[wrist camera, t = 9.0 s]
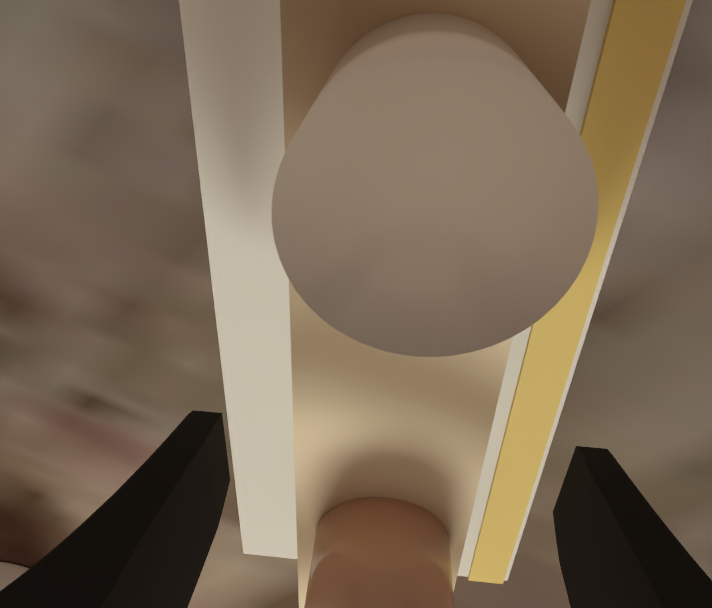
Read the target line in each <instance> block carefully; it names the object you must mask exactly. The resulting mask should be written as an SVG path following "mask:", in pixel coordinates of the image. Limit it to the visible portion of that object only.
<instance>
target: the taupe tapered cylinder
mask: <svg viewBox="0 0 712 608" xmlns="http://www.w3.org/2000/svg"><path fill="white" fill-rule="evenodd" d="M598 201H599V198H598V189H597V180H596V175H595V172H594V168H593V164H592V160H591V157H590V155H589V153H588V151H587V148H586V146H585V144H584V142H583V139H582V138H581V136H580V134H579V133H578V131H577V130H576V128H575V127H574V125H573V124H572V122H571V121H570V119H569V118H568V117H567V116H566V114H565V113H564V112H563V111H562V109H561V108H560V107H559V106H558V104H557V103H556V102H555V101H554V99H553V98H552V97H551V96H550V94H549V93H548V92H547V91H546V89H545V88H544V87H543V86H542V84H541V83H540V82H539V81H538V79H537V78H536V77H535V76H534V74H533V73H532V72H531V71H530V69H529V68H528V67H527V66H526V64H525V63H524V62H523V61H522V59H521V58H520V57H519V56H518V54H517V53H516V52H515V51H514V50H513V49H512V48H511V46H510V45H509V44H508V43H507V42H506V41H505V40H503V39H502V38H501V37H500V36H499V35H497V34H496V33H495V32H493V31H492V30H490V29H488V28H487V27H485V26H483V25H482V24H479V23H477V22H475V21H472V20H470V19H467V18H464V17H460V16H456V15H452V14H443V13H420V14H414V15H409V16H404V17H401V18H398V19H395V20H392V21H389V22H387V23H385V24H383V25H381V26H379V27H377V28H375V29H373V30H372V31H370V32H369V33H367V34H366V35H365V36H363V37H362V38H360V39H359V40H358V41H357V42H356V43H355V44H354V45H353V46H352V47H351V48H349V50H348V51H347V52H346V53H345V54H344V56H343V57H342V58H341V59H340V60H339V62H338V63H337V65H336V66H335V68H334V70H333V71H332V73H331V74H330V76H329V78H328V79H327V81H326V83H325V85H324V86H323V88H322V90H321V91H320V93H319V95H318V96H317V98H316V100H315V102H314V103H313V105H312V107H311V108H310V110H309V112H308V113H307V115H306V117H305V118H304V120H303V122H302V124H301V125H300V127H299V129H298V130H297V132H296V134H295V135H294V137H293V139H292V140H291V142H290V144H289V146H288V148H287V150H286V152H285V154H284V157H283V159H282V161H281V163H280V166H279V169H278V173H277V176H276V180H275V183H274V190H273V197H272V229H273V236H274V242H275V245H276V249H277V252H278V256H279V259H280V261H281V264H282V266H283V268H284V270H285V273H286V275H287V277H288V278H289V280H290V282H291V283H292V285H293V287H294V288H295V290H296V291H297V293H298V294H299V295H300V296H301V298H302V299H303V300H304V301H305V303H306V304H307V305H308V306H309V307H310V308H311V309H312V310H313V311H314V312H315V313H316V314H317V315H318V316H319V317H320V318H321V319H323V320H324V321H325V322H327V323H328V324H329V325H330V326H332V327H333V328H334V329H336V330H338V331H339V332H341V333H343V334H344V335H346V336H348V337H349V338H352V339H354V340H356V341H358V342H360V343H362V344H365V345H367V346H370V347H373V348H376V349H379V350H382V351H386V352H391V353H395V354H400V355H408V356H416V357H442V356H453V355H459V354H464V353H470V352H474V351H478V350H481V349H484V348H487V347H491V346H493V345H496V344H498V343H500V342H503V341H505V340H507V339H509V338H511V337H513V336H515V335H517V334H518V333H520V332H522V331H524V330H526V329H527V328H528V327H530V326H531V325H533V324H534V323H535V322H537V321H538V320H540V319H541V318H542V317H543V316H544V315H545V314H547V313H548V312H549V311H550V310H551V309H552V308H553V307H554V306H555V305H556V304H557V303H558V302H559V301H560V300H561V298H562V297H563V296H564V295H565V294H566V293H567V292H568V290H569V289H570V287H571V286H572V284H573V283H574V281H575V280H576V278H577V277H578V275H579V274H580V272H581V270H582V268H583V266H584V264H585V262H586V260H587V258H588V255H589V252H590V249H591V246H592V243H593V240H594V236H595V231H596V226H597V220H598Z"/></svg>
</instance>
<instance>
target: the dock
mask: <svg viewBox="0 0 712 608" xmlns="http://www.w3.org/2000/svg"><path fill="white" fill-rule="evenodd" d="M692 2H693V0H591V3H590V8H589V12H588V16H587V20H586V25H585V29H584V33H583V38H582V42H581V46H580V51H579V55H578V59H577V63H576V68H575V72H574V76H573V81H572V85H571V89H570V94H569V98H568V102H567V106H566V111H565V114H566V116H567V117H568V118H569V119H570V121H571V122H572V124H573V125H574V127H575V128H576V130H577V131H578V133H579V134H580V136H581V138H582V139H583V142H584V144H585V146H586V148H587V151H588V153H589V155H590V157H591V160H592V164H593V168H594V172H595V175H596V180H597V189H598V198H599V201H598V220H597V226H596V231H595V236H594V240H593V243H592V246H591V249H590V252H589V255H588V258H587V260H586V262H585V264H584V266H583V268H582V270H581V272H580V274H579V275H578V277H577V278H576V280H575V281H574V283H573V284H572V286H571V287H570V289H569V290H568V292H567V293H566V294H565V295H564V296H563V297H562V298H561V300H560V301H559V302H558V303H557V304H556V305H555V306H554V307H553V308H552V309H551V310H550V311H549V312H548V313H547V314H545V315H544V316H543V317H542V318H541V319H540V320H538V321H537V322H535V323H534V324H533V325H531V326H530V327H528V328H527V329H526V330H524V331H522V332H520V333H518V334H517V335H515V336H513V338H512V343H511V347H510V351H509V356H508V360H507V364H506V368H505V373H504V377H503V381H502V386H501V390H500V394H499V398H498V403H497V407H496V411H495V416H494V420H493V424H492V429H491V433H490V437H489V441H488V446H487V450H486V454H485V459H484V463H483V467H482V471H481V476H480V480H479V484H478V489H477V493H476V497H475V502H474V506H473V510H472V514H471V519H470V523H469V527H468V532H467V536H466V540H465V545H464V549H463V553H462V557H461V562H460V566H459V570H458V575H457V576H466V577H468V580H469V581H479V582H488V583H498V584H503V582H504V581H507V580H508V577H509V574H510V571H511V567H512V564H513V561H514V558H515V555H516V552H517V549H518V546H519V542H520V539H521V536H522V533H523V530H524V527H525V524H526V521H527V517H528V514H529V511H530V508H531V505H532V502H533V499H534V496H535V492H536V489H537V486H538V483H539V480H540V477H541V474H542V471H543V467H544V464H545V461H546V458H547V455H548V452H549V449H550V446H551V442H552V439H553V436H554V433H555V430H556V427H557V424H558V421H559V417H560V414H561V411H562V408H563V405H564V402H565V399H566V396H567V392H568V389H569V386H570V383H571V380H572V377H573V374H574V371H575V367H576V364H577V361H578V358H579V355H580V352H581V349H582V346H583V342H584V339H585V336H586V333H587V330H588V327H589V324H590V320H591V317H592V314H593V311H594V308H595V305H596V302H597V299H598V295H599V292H600V289H601V286H602V283H603V280H604V277H605V274H606V270H607V267H608V264H609V261H610V258H611V255H612V252H613V249H614V245H615V242H616V239H617V236H618V233H619V230H620V227H621V224H622V220H623V217H624V214H625V211H626V208H627V205H628V202H629V199H630V195H631V192H632V189H633V186H634V183H635V180H636V177H637V174H638V170H639V167H640V164H641V161H642V158H643V155H644V152H645V149H646V145H647V142H648V139H649V136H650V133H651V130H652V127H653V124H654V120H655V117H656V114H657V111H658V108H659V105H660V102H661V99H662V95H663V92H664V89H665V86H666V83H667V80H668V77H669V74H670V70H671V67H672V64H673V61H674V58H675V55H676V52H677V49H678V45H679V42H680V39H681V36H682V33H683V30H684V27H685V23H686V20H687V17H688V14H689V11H690V8H691V5H692ZM179 5H180V14H181V22H182V31H183V39H184V48H185V57H186V65H187V74H188V82H189V91H190V99H191V108H192V117H193V125H194V134H195V142H196V151H197V159H198V168H199V177H200V185H201V194H202V202H203V211H204V219H205V228H206V237H207V245H208V254H209V262H210V271H211V279H212V288H213V297H214V305H215V314H216V322H217V331H218V339H219V348H220V357H221V365H222V374H223V382H224V391H225V399H226V408H227V417H228V425H229V434H230V442H231V451H232V459H233V468H234V477H235V485H236V494H237V502H238V511H239V519H240V528H241V537H242V545H243V553H244V554H254V555H263V556H273V557H283V558H292V559H298V557H297V526H296V494H295V462H294V430H293V399H292V367H291V335H290V303H289V278H288V277H287V275H286V273H285V270H284V268H283V266H282V264H281V261H280V259H279V256H278V252H277V249H276V245H275V242H274V236H273V229H272V197H273V190H274V183H275V180H276V176H277V173H278V169H279V166H280V163H281V161H282V159H283V157H284V154H285V145H284V113H283V81H282V49H281V18H280V0H179Z"/></svg>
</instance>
